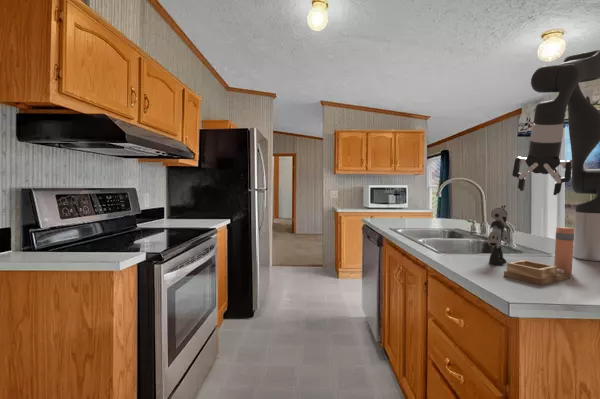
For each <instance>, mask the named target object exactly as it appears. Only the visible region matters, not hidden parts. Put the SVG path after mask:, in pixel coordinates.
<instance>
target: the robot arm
mask: <svg viewBox="0 0 600 399" xmlns="http://www.w3.org/2000/svg"><path fill="white" fill-rule="evenodd" d="M530 79H531V80H530V86H531V88H532V90H533V91H535V92H537V93H540V94H541V93H544V94H545V93H546V94H547V93H548V94H549V93H558V95H557V96H556V98H554V99H552V100H545V101H541V102H538V103H537V104H536V106H535V109H534V117H533V124H532V128H531V132H530V135H529V147H528V155H527V157H522V156H521V155H519V156H517V157H515V160H514V165H513V169H512V174H511V175H512V177H514V178H515V177H516V178H518V185H517V188H518V189H519V191H521V192H523V191H524V190H525V185H526V176H527V175H529V174H530V173H531V172H532V173H533V174H542V175H548V174H549V175H550V176H551V178H552V179H553V180H554V181H555V184H554V188H553V193H552V194H553V196H557V195H558V194H560V192H561V191H562V186H563V185H562V184H563V183H569V182H570V181H571V185H572V186H571V187H572V190H573V192H574V193H576V194H580V195H586V194H587V195H596V196H595V198H593V199H591V200H589V201H585V202H581V203H578V204H576V205H575V213H574V227H573V228H574V243H573V258H575V259H579V260H586V261H592V262H593V261H594V262H600V168H584V167H585V166H584V165H585V163H586V160H587V159H588V157H589V156H590V154H591V153H592V151H593V150H595V148H596V147H597V145H599V143H600V111H599V109H597V108H596V107H595V106H594V105H593V104H592V103H591V101H589V100H588V98H586V96H585V95H584V94H583V92H582V89H581V88H580V85H579V83H586V82H591V81H596V80H600V49H595V50H590V51H585V52H580V53H576V54H571V55H568V56H566V57H565V58H564V59H563V62H561V63H558V64H551V65H543V66H541V67H539V68H537V69H536V70H535V71H534V72H533V74H532V76H531V78H530ZM566 110H567V116H568V134H569V142H570V150H571V151H570V152H571V153H570V154H571V159H568V160H561V159H560V155H561V147H562V142H563V137H564V125H565V124H564V123H565V116H566ZM524 163H525V164H526V165H527V169H525V170H524V171H523V172H520V168H521V165H524ZM560 165H561V166H562V168H563V169H564V176H561V174H560V172H559V171H558V169H557V168H558V167H559V166H560Z"/></svg>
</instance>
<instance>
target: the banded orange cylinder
mask: <svg viewBox="0 0 600 399" xmlns="http://www.w3.org/2000/svg"><path fill="white" fill-rule="evenodd" d="M574 228H575V227H567V226H566V227H565V226H556V228H555V229H556V230H555V250H554V261H553V262H554V265H553V266H557V269H561V270H564V272H568V273H570V276H571V275H572V273H573V258H574V257H573V245H574Z"/></svg>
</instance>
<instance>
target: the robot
mask: <svg viewBox="0 0 600 399" xmlns="http://www.w3.org/2000/svg"><path fill="white" fill-rule="evenodd" d="M505 209H506V205H501V207H496V208H494V209H493V210H491V214H490V216H491V218H492V219H494V221H492V222H491V224H490V225H489V226H490V227H489V229H492V231H491V232H490V233H489V234H488V238H487V243H488V247H489V248H493V249H492V251H491V253H490V255H489V259H488V260H489V261H488V264H489V265H493V266H499V267H500V266H504V264H507V263H508V262H507V260H506V259H505V258H504V254H503V250H502V242H508V241H509V239H510V235H509V233H508V231H507V230H506V229H505V227H506V226H505V225H507V218H508V211H506V210H505Z"/></svg>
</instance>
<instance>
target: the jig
mask: <svg viewBox="0 0 600 399" xmlns="http://www.w3.org/2000/svg"><path fill="white" fill-rule="evenodd" d="M503 277H506V278H509V279H514V280H518V281H523V282H527V283H531V284H534V285H538V286H543V285H547V284H551V283H556V282H560V281H563V280H566V279H571V275H570V273H568V272H564V270H561V269H557V266H554V265H552V264H546V263H542V262H536V261H533V260H532V261H530V260H527V259H523V260H517V261H511V262H507V263H506V270H504V271H503Z"/></svg>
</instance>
